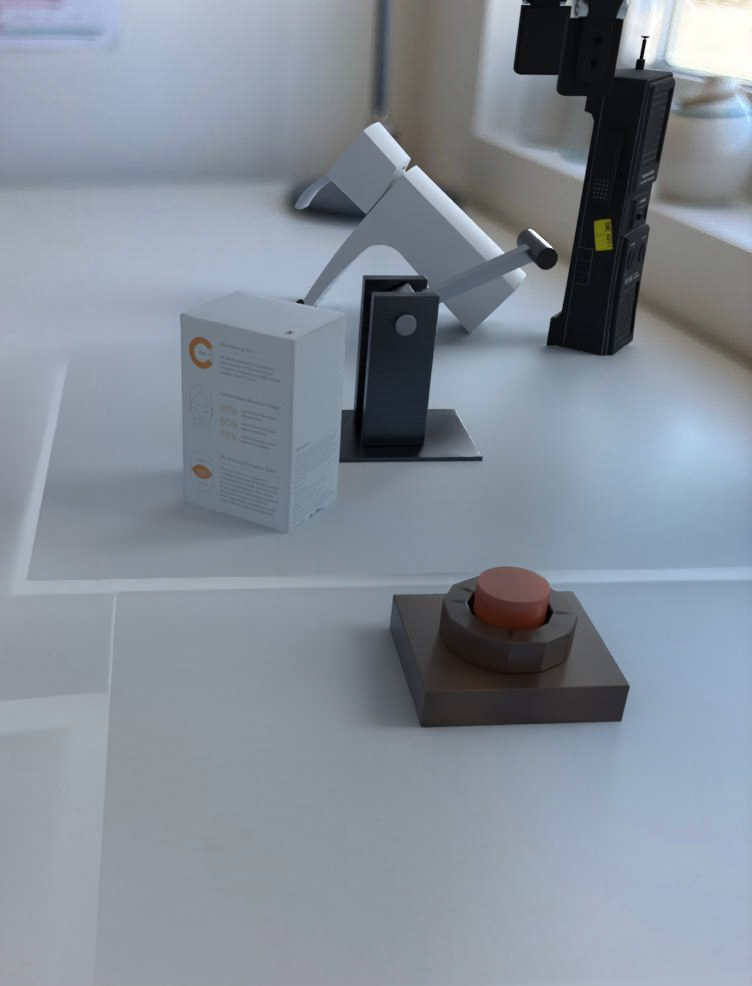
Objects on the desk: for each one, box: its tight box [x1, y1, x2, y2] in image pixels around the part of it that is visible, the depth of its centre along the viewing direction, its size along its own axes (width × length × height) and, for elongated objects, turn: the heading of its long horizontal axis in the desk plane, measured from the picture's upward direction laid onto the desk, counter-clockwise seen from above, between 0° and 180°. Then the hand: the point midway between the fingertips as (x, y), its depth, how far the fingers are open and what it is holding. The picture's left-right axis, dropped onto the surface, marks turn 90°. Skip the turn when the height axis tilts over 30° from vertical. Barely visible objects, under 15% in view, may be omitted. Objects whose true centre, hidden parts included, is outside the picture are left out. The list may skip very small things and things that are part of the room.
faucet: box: [294, 121, 527, 334], centre depth 107 cm, size 6×16×20 cm
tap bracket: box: [339, 274, 484, 464], centre depth 80 cm, size 12×9×12 cm
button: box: [473, 565, 552, 630], centre depth 56 cm, size 4×4×2 cm
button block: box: [389, 575, 631, 728], centre depth 58 cm, size 10×9×4 cm
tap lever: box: [390, 228, 559, 305], centre depth 77 cm, size 12×5×2 cm, turn 95°
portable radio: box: [546, 35, 676, 357], centre depth 95 cm, size 8×6×25 cm
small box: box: [179, 290, 348, 534], centre depth 70 cm, size 8×6×13 cm
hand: (558, 84), depth 71 cm, fingers open, 9 cm apart
